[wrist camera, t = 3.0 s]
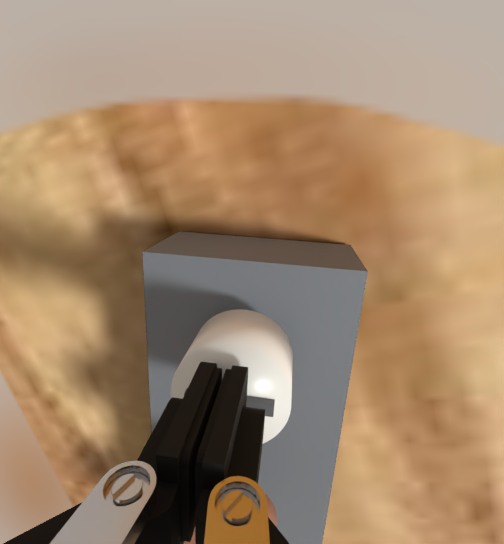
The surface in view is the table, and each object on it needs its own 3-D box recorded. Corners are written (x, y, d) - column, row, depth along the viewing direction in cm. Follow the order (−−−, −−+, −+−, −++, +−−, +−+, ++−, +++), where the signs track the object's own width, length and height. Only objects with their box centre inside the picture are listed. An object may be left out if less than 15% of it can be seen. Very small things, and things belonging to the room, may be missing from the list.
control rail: (306, 542, 26) (308, 624, 22) (183, 520, 27) (159, 594, 23) (350, 244, 19) (367, 271, 14) (179, 231, 20) (142, 251, 15)
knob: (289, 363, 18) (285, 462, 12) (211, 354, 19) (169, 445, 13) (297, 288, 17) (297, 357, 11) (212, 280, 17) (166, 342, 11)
